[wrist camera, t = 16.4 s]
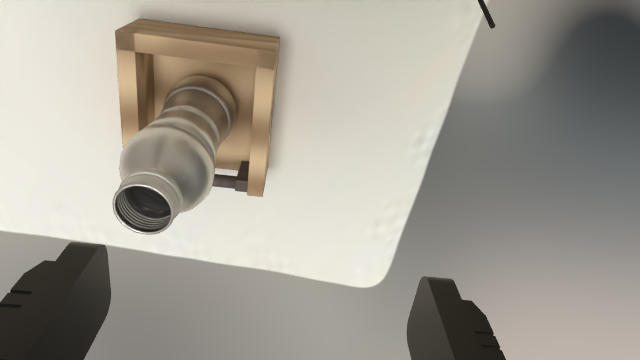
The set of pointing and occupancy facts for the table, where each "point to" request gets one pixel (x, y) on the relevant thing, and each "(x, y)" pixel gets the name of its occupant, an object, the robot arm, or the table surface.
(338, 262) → the table surface
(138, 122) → the caddy
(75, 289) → the robot arm
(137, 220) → the metal bottle
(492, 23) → the reed diffuser
